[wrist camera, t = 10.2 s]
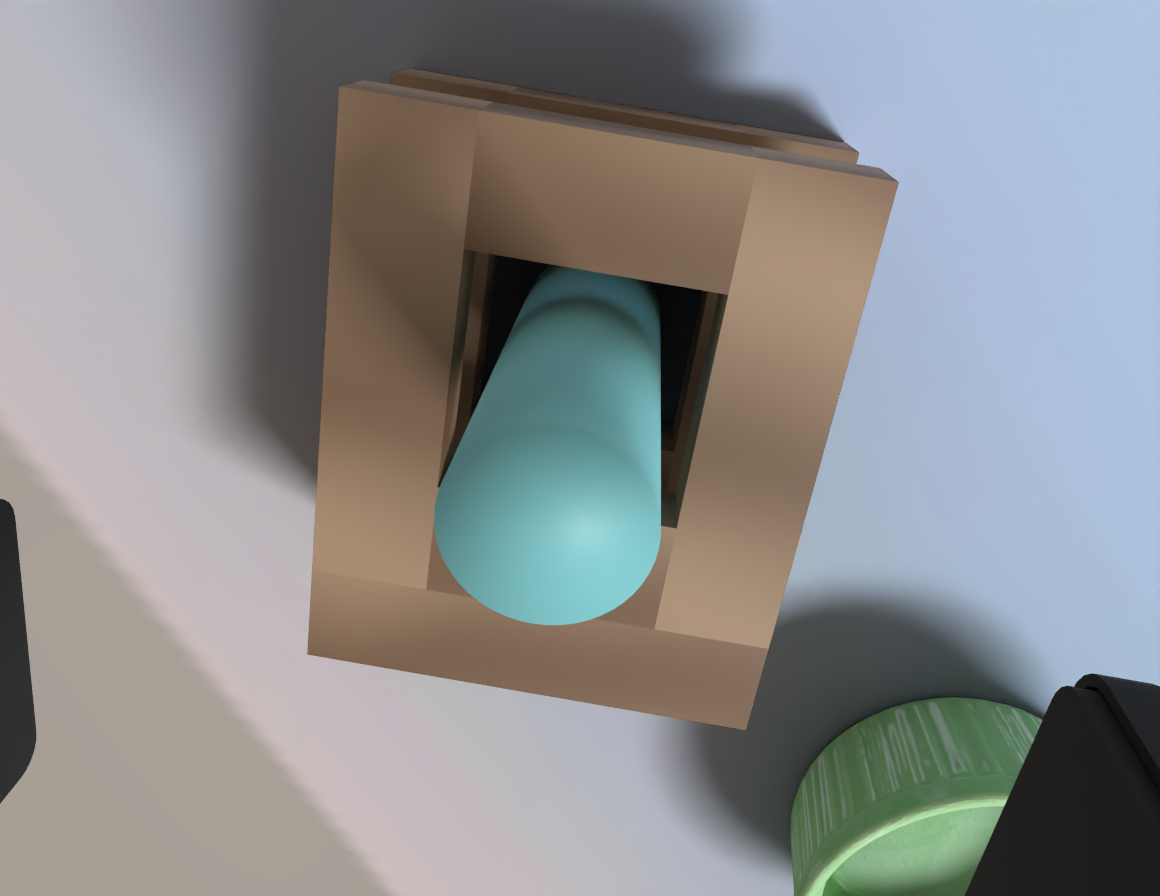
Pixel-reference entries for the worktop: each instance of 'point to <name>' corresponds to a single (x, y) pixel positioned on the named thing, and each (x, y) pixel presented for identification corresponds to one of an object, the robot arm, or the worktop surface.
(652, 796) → the worktop surface
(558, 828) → the worktop surface
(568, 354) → the peg
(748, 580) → the block
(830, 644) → the worktop surface
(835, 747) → the ramekin
